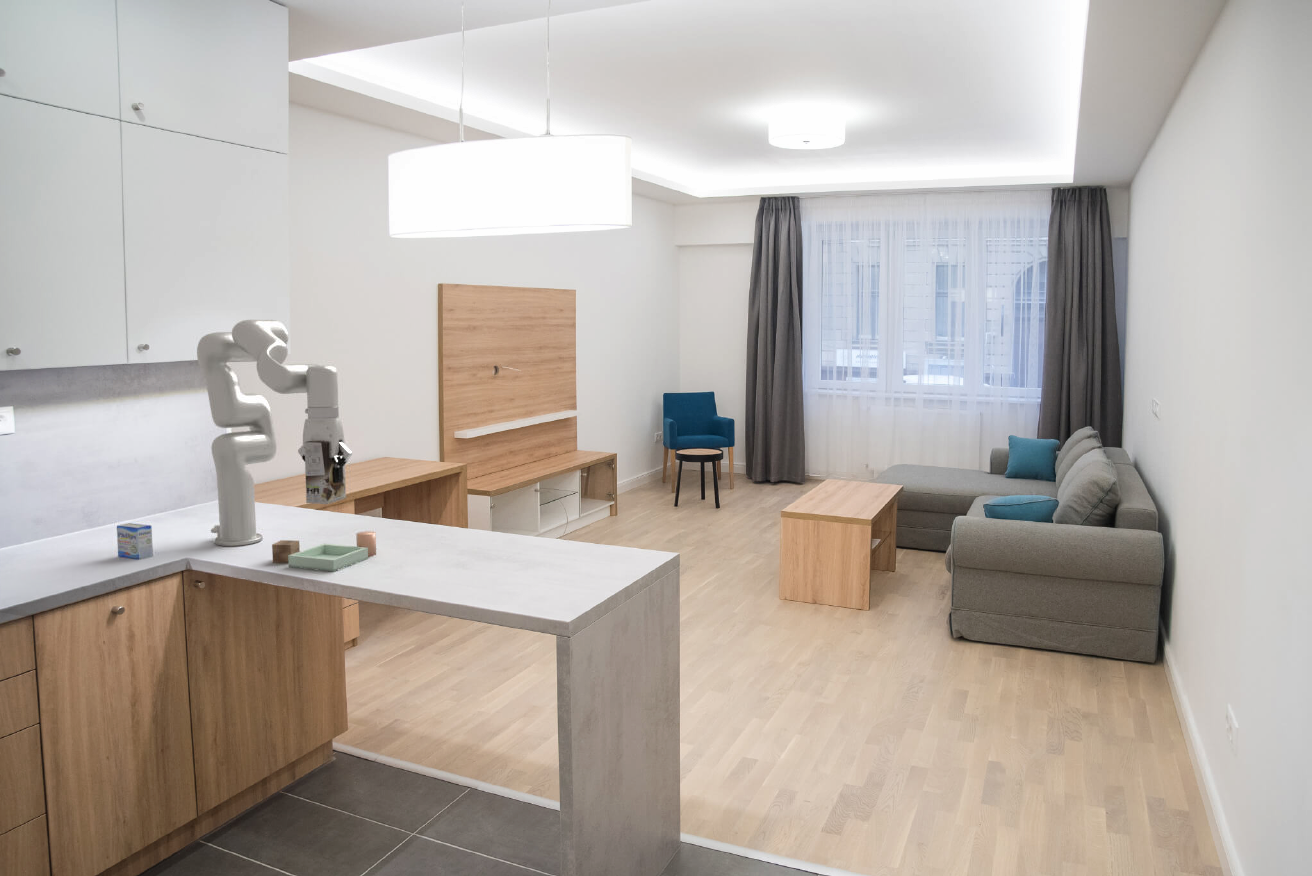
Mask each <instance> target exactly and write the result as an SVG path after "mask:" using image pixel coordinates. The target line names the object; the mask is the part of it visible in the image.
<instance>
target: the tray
mask: <svg viewBox="0 0 1312 876" xmlns="http://www.w3.org/2000/svg"><path fill="white" fill-rule="evenodd" d="M367 558H368V559H369V557H368V548H365V547H357V546H352V545H342V544H333V543H322V544H319V545H316V546H313V547H310V548H309V547H308V548H306V549H304V550H301V551H300V552H297V553H294V554H291V555H288V559H289V563H288V567H289V568H295V567H302V568H301V569H304V568H306V570H313V569H318V570H317V571H323V570H326V572H332V571H335V572H337V571H339V570H338V569H340V570H342V569H341V568H343V567H345V568H347V567H346V566H348V567H351V566H352V565H351V564H353V565H355V563H356V562H358V563H360V561H361V562H363V561H365V559H366V560H368V559H367ZM362 560H363V561H362ZM356 564H357V563H356ZM343 569H344V568H343ZM336 570H337V571H336Z"/></svg>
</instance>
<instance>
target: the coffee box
mask: <svg viewBox="0 0 1312 876" xmlns="http://www.w3.org/2000/svg"><path fill="white" fill-rule="evenodd" d="M342 457H343V455H342ZM337 461H338V460H337ZM304 465H305V466H304V467H305V468H304V471H305V499H306V500H305V503H306V504H317V505H329V504H332V503H334V502H335V503H336V502H338V501H342V500H345V499H346V498H347V495H346V494H347V493H346V491H347V490H346V489H347V488H346V465H345V466H344V467H343V481H342V482H339V483H333V468H335V466H334V464H333V458H330V457H329V442H326V441H307V442H305V461H304Z"/></svg>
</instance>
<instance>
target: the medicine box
mask: <svg viewBox="0 0 1312 876" xmlns="http://www.w3.org/2000/svg"><path fill="white" fill-rule="evenodd" d="M152 530H153V527H152V525H149V524H140V523H133V522H131V523H130V522H129V523H122V524H118V525H116V541H117V544H116V545H117V556H118V557H119V558H123V559H125V558H126V559H131V560H132V559H133V560H142V559H143V560H144V559H147V558H150V557H153V556H154V550H153V549H154V547H153V545H154V544H153V531H152Z"/></svg>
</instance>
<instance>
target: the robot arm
mask: <svg viewBox="0 0 1312 876" xmlns="http://www.w3.org/2000/svg"><path fill="white" fill-rule="evenodd" d="M288 343H289V332H288V330H287V328H286V327H285V325H284V324H283V323H282V322H280V321H277V320H273V319H245V320H244V319H243V320H241V321H239V322H237V323H236V324H235V325H234V326H233V328H232V329H231V331H222V332H221V331H220V332H219V331H217V332H210V333H208V334H205V335H204V336H202V337H201V338H200V339H199V341H198V343H197V348H196V356H197V362H198V365H199V367H200V370H201V372H202V374H203V377H204V381H205V383H206V389H207V396H208V402H209V407H210V413H211V417H212V421H213V423H214V425H215V426H217V427H218V428H221V429H233V428H234V429H235V428H245V427H246V428H247V427H248V428H249V430H248V431H247V430H246V431H235V432H234V431H233V432H228V433H223V434H220V435H218V436H217V437H215V438H214V440H212V442H211V447H210V448H211V455H212V459H213V463H214V467H215V472H216V474H215V475H216V486H217V501H218V514H219V515H218V517H219V518H218V519H219V524H218V525H217V524H215V525H214V527H211V529H210V532H211V533H212V534H217V535H216V537H215V538H214V542H213V543H214V544H215V545H217V546H225V547H236V546H245V545H251V544H252V545H253V544H256V543H259V542H261V541H262V540H263V535H262V534H261V533H257V523H256V521H257V520H256V502H255V501H256V500H255V498H256V497H255V482H254V478H253V475H252V474H251V472H250V471H249V470H248V469H247V467H246V465H251V464H259V463H266V462H270V461H271V460H273V459H274V457H275V456H276V453H277V440H276V433H275V427H274V421H273V415H272V410H271V407H270V404H269V402H268V400H267V398H265V397H264V396H263V395H261V394H259V393H242V390H241V385H240V379H239V377H238V375H237V373H236V372H234V370H233V369H232V368H231V366H229V365H228V364H227V363H248V362H249V363H252V362H253V363H254V362H256V372H257V374H258V375H257V376H258V377H259V379H260V381H261V382H262V383H263V384H264V385H265V386H267V387H268V388H269V389H270V390H272V391H274V392H276V393H278V394H282V395H288V394H289V395H290V394H292V395H293V394H306V400H307V401H306V402H307V407H306V408H305V410H304V413H305V414H307V418H305V420H304V422H303V431H302V445H301V447H300V448H298V450H297V452H298V454H299V455H300V457H301V459H302V460H303V462H305V442H307V441H326V442H329V457H330V458H333V464H334V466H335V468H333V483H339V482H342V481H343V467H344V466H345V467H346V464H347V462H348V461H349V459H350V458H351V456H352V455H353V452H352V451H351V450H350V449H349V448H348V447H347V446H346V443H345V434H344V427H343V423H342V420H341V418H340V415H339V390H338V389H339V387H338V386H339V385H338V370H337V368H336V367H335V366H332V365H320V364H317V363H316V364H315V363H297V364H295V363H294V364H283V363H284V362H285V361H286V359H287V357H288V354H289V352H288V351H289V350H288V345H287V344H288ZM342 455H343V457H342ZM337 460H338V461H337Z"/></svg>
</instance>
